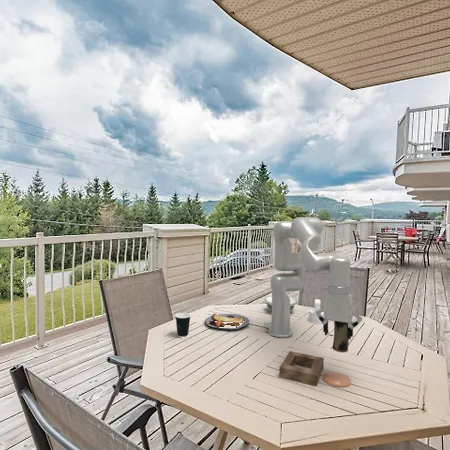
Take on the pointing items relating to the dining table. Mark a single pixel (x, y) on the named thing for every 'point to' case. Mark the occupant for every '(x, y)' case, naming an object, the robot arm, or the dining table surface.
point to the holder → (302, 374)
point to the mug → (340, 336)
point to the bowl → (269, 303)
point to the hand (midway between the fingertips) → (337, 335)
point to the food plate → (226, 320)
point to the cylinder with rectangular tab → (312, 313)
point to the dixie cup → (182, 324)
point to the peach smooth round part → (336, 379)
